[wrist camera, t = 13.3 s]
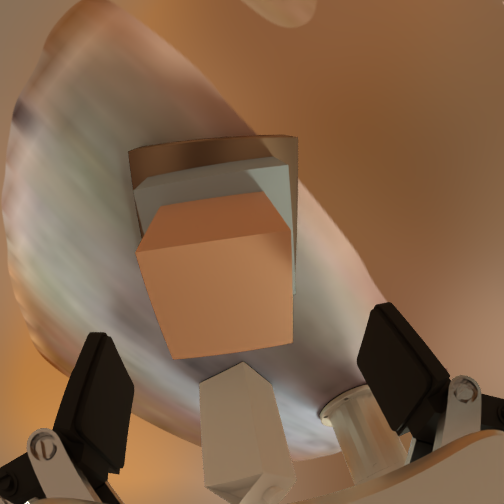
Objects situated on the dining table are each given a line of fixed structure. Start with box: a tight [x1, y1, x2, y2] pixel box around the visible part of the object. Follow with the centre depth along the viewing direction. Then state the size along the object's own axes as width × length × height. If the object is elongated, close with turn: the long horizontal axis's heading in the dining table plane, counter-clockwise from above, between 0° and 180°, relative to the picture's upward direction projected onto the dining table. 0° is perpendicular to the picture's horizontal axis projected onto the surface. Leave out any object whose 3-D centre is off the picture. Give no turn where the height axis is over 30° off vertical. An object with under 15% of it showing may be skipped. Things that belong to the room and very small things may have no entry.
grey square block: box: [133, 157, 296, 295], centre depth 19 cm, size 9×9×4 cm
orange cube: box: [135, 191, 293, 360], centre depth 14 cm, size 6×6×6 cm
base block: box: [128, 135, 298, 265], centre depth 22 cm, size 12×12×4 cm
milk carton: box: [199, 362, 296, 504], centre depth 26 cm, size 7×7×19 cm
